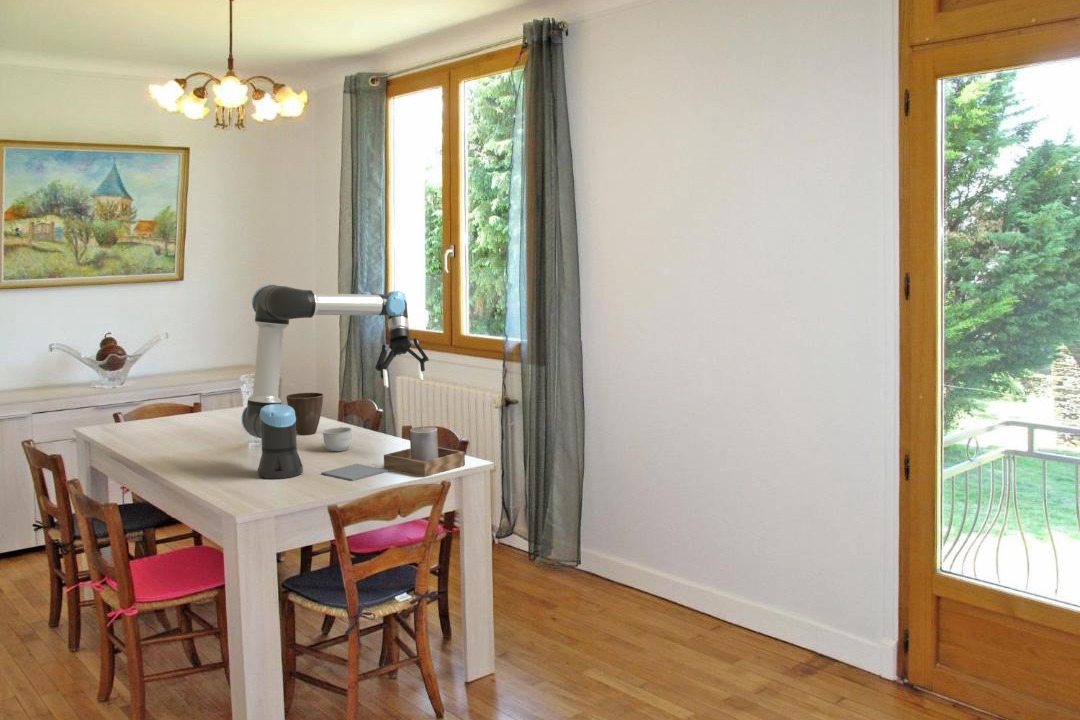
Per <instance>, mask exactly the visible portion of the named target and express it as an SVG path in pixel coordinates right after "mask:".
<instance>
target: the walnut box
mask: <svg viewBox="0 0 1080 720" xmlns="http://www.w3.org/2000/svg"><path fill="white" fill-rule="evenodd" d="M464 465H465V466H466V454H465V451H464V450H463V451H462V450H457V449H451V448H444V447H440V446H438V458H436V459H432V460H429V461H425V462H424V461H419V460H413V459H411V447H410V448H406V449H403V450H398V451H394V452H390V453H386V454H383V469H386V470H388V471H393V472H397V473H402V474H408V475H413V476H418V477H422V478H426V477H429V476H433V474H434V475H437V474H440V472H441V473H443V472H448V471H451V470H455V469H458V468H462V467H464ZM461 466H462V467H461ZM447 470H448V471H447ZM436 473H437V474H436Z"/></svg>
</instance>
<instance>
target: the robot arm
mask: <svg viewBox="0 0 1080 720" xmlns="http://www.w3.org/2000/svg"><path fill="white" fill-rule="evenodd" d="M251 305H252V306H251V307H252V309H253V312H254V313H255V314H254V315H255V316H254V317H255V318H254V323H255V324H256V325H257V327H258V332H257V334H258V335H257V345H256V353H255V354H256V356H255V366H254V376H253V388H252V394H251V396H249V397H248V398H247V404H246V407H245V408H244V409H243V411H242V413H241V418H240V419H241V425H242V427H243V429H244V430H245V431H246V432H247V433H248V434H249V435H250V436H252V437H255V438H258V439H261V442H260V443H261V456H260V459H259V463H258V467H257V476H258V477H259V476H260V477H259V478H261V477H264V478H263V479H268V478H280V479H287V477H289V478H294V477H297V475H298V476H301V473H302V474H303V473H304V465H303V464H302V460H301V458H300V456H299V452H298V448H297V445H298V444H297V431H296V416H295V411H294V409H293V408H292V407H290V406H288V404H282V400H281V399H280V397H279V396H278V395H279V388H280V387H279V383H280V375H281V365H282V364H281V363H282V353H283V344H284V343H283V340H284V333H285V331H284V330H285V329H286V328H287V327H288V326H289V325H290V320H293V319H294V320H295V319H305V318H306V319H309V318H310V319H312V318H313V317H314V316H385V317H387V322H388V333H389V345H386V344H382V345H381V351H380V355H379V356H378V359H377V361H376V364H375V366H374V368H375V370H376V371H377V372H380V378H381V379H382V380H383V386H384V388H386V389H387V388H389V378H388V377H389V376H388V371H387V369H388V367H389V366H390V364H391V363H392V361H393V359H394V358H396V357H397V356H401V355H406V354H407V353H409V354H410V355H411V356H412V357H413V358H414V359H416V360H417V361H418V362H417V373H418V379H419V380H420V381H421V382H423V381H424V375H423V373H424V372H425V370H426V368H425V364H426V362H429V360H430V359H429V357H428V356H427V354H426V353H425V351H424V350H423V348H422V347H421V345H420V343H419V340H418V339H417V338H415V337H414V338H413V339H412V340H411V337H410V329H409V327H410V326H409V319H408V318H409V316H408V302H407V297H406V294H405V293H404V292H403V291H400V290H396V291H395V290H393V291H392V290H391V291H390V292H387V294H383V293H374V292H370V291H369V292H368V291H363V292H361V293H358V294H357V293H325V292H324V293H323V292H322V293H321V292H319V293H317V292H314V291H313V290H312V289H301V288H295V287H289V286H284V285H282V286H281V285H276V284H268V285H264V286H261V287H260V288H258V289H257V290H256V291H255V293H254V294H253V296H252V298H251ZM412 345H413V346H414V347H416V349H417V350H418V353H419V354H420V355H421V356H422V358H421V357H420V356H419V355H418V354H417V353H415V352H414V351H413V350H412V349H411V346H412ZM389 350H390V351H389ZM388 352H389V353H388ZM387 353H388V355H387ZM293 476H294V477H293Z"/></svg>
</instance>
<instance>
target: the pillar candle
mask: <svg viewBox="0 0 1080 720" xmlns="http://www.w3.org/2000/svg"><path fill="white" fill-rule="evenodd" d="M409 435H410V436H409V444H410V448H411V459H413V460H419V461H424V462H425V461H429V460H432V459H436V458H438V447H439V444H438V442H439V441H438V438H439V437H438V428H437V427H435V426H425V425H423V426H417V427H412V428H410V429H409Z"/></svg>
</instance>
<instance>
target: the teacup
mask: <svg viewBox="0 0 1080 720" xmlns="http://www.w3.org/2000/svg"><path fill="white" fill-rule="evenodd" d="M322 435H323V436H322V437H323V444H324V447H325V448H326V449H327V450H328V451H330V452H333V451H338V452H343V451H346V450H349V448H350V447H351V446H352V443H353V436H352V435H353V433H352V428H351V427H348V426H347V427H344V426H339V427H332V428H327V429H325V430H323V431H322Z"/></svg>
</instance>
